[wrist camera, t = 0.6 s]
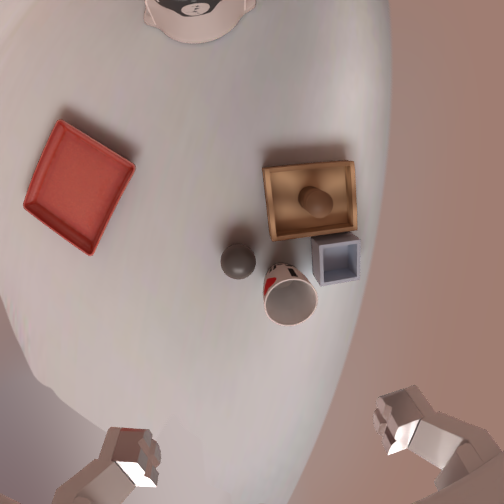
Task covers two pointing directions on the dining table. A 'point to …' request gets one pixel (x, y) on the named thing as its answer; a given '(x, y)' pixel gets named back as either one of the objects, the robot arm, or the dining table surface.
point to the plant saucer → (77, 186)
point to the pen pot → (335, 258)
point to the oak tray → (296, 217)
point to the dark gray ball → (238, 261)
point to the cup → (288, 295)
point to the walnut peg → (315, 201)
